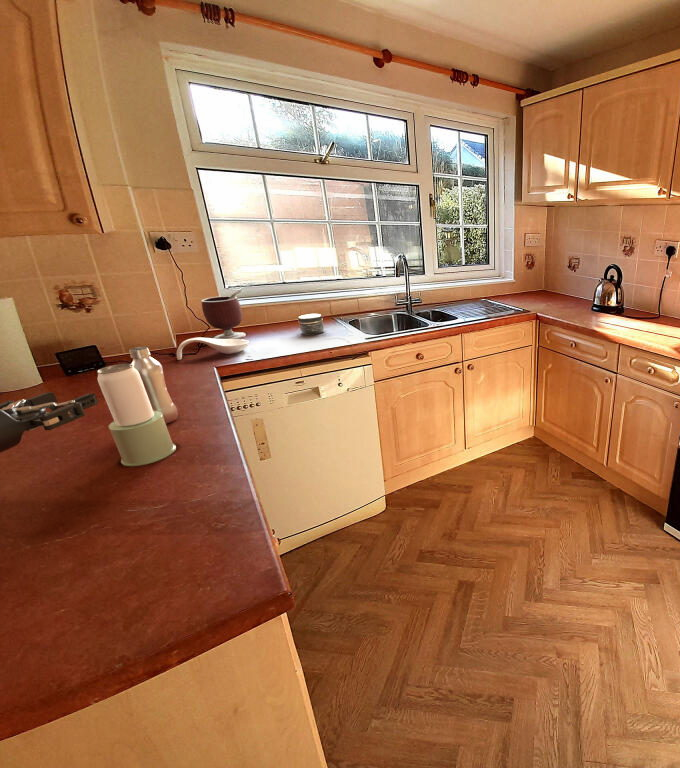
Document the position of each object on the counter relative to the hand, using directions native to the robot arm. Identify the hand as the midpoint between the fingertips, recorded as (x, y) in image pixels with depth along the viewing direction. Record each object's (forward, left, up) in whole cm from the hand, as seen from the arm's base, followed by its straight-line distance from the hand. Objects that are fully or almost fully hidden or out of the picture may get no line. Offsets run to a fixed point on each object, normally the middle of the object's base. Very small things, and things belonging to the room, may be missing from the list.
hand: (74, 397), depth 79 cm
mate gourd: (+86, +80, -19) cm, 119 cm away
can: (+8, +2, -10) cm, 13 cm away
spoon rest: (+66, +62, -19) cm, 92 cm away
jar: (+104, +51, -19) cm, 117 cm away
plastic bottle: (+21, +17, -19) cm, 33 cm away
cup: (+9, +2, -18) cm, 20 cm away
